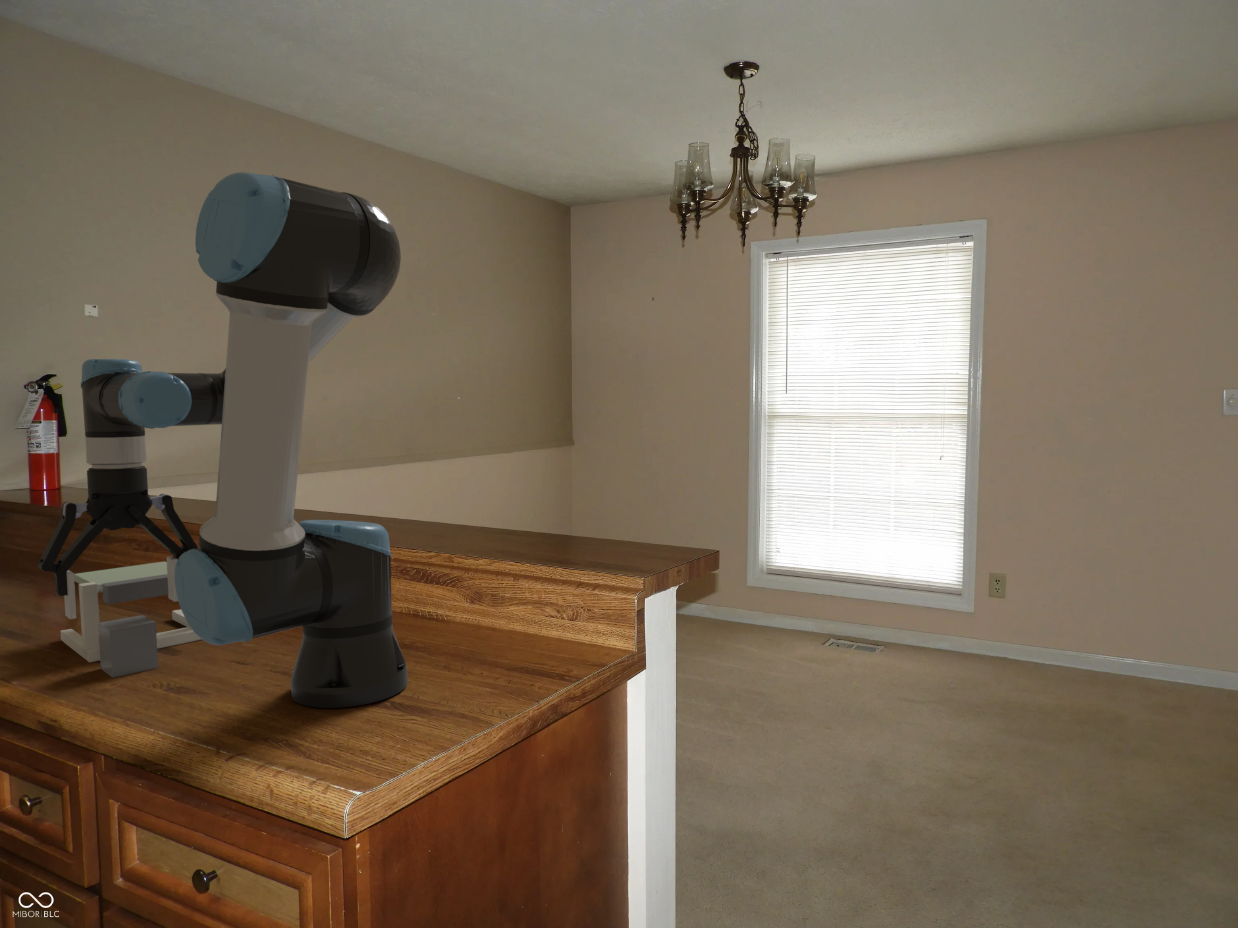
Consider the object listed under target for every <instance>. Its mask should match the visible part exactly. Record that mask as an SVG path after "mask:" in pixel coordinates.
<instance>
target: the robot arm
mask: <svg viewBox="0 0 1238 928" xmlns="http://www.w3.org/2000/svg"><path fill="white" fill-rule="evenodd" d="M194 243H195V252H196V254H197V255H198V258H197V261H198V264H199V266H200V269H201V270H202V272H203V273H204V275H206V276H207V277H209V278H210V279H212V280H213V281H215V282H216V286H215V287H216V289H215V296H216V297H217V299H219V301H220V302H221V304H223V305H224V306H225V308H226V309H227V310H228V312H229V318H228V319H229V321H228V333H227V345H226V346H227V347H226V362H225V368H224V369H223V370H222V372H219V373H216V372H215V373H204V372H199V373H198V372H196V373H195V372H194V373H193V372H192V373H191V372H164V371H150V370H149V371H143V369H142V368H143V367H142V365H141V363H140V362H139V361H138V360H135V359H127V358H126V359H125V358H124V359H123V358H122V359H120V358H119V359H118V358H90V359H87V360H85V361H84V362H83V363H82V365H81V381H80V388H81V391H82V392H81V393H82V394H81V395H82V408H83V409H82V410H83V411H82V412H83V426H84V436H85V438H84V439H85V457H86V458H85V459H86V461H85V462H86V464H88V465H90V466H91V467H89V468H88V470H86V479H87V496H88V497H87V499H86V501H85V503H83V502H80V503H79V502H70V501H64V502H63V503H62V505H61V517H60V518H59V519H60V520H59V521H58V523H57V525H56V527H55V529H54V531H53V533H52V535H51V537H50V539H49V540H48V543H47V545H46V546H45V549H44V551H43V553H42V554H41V556H40V559H39V561H38V562H37V567H38V568H39V569H41V571H43V572H48V573H49V572H50V573H53V574H54V575H53V576H54V589H55V591H54V592H55V594H56V595H57V596H58V597H64V599H63V600H64V613H65V617H67V618H68V619H69V620H74V619H77V605H76V604H77V603H76V588H75V587H76V586H75V581H74V574H75V573H74V572H72V571H71V570H70V568H71V567H72V566H73V565H74V563H76V561H77V560H78V559H79V557H80V556H81V555H82V554H83V553H84V552H85V551H86V549H87V548H88V547H89V546H90V545H91V543H93V542H94V540H95V539H96V537H97V536H98V535H100V534H101V533H102V532H103V531H104V530H109V531H117V530H120V529H134V528H135V527H137V526H140V527H141V528H142V529H143V530H145V531H146V532H147V533H148V535H150V536H151V537H152V538H154V539H155V540H156V541H157V542H158V543H159V544H160V545H161V546H162V547H163V548H165V549H166V550H167V551H168V552H169V553H170V554H171V555H172V556H166V562H167V576H168V595H167V596H168V599H169V600H171V601H172V602H178V605H179V607H180V609H181V610H182V612H183V614H184V616H185V619H186V621H187V622H188V624H189V626H190V627H191V629H192V630H193V631H194V632H195V634H196V635H198V636H199V637H200V638H201V639H202V641H204V642H206V643H207V644H209V645H212V646H213V645H214V646H225V645H231V644H235V643H239V642H242V643H247V642H251V640H254V639H256V638H259V637H264V636H269V635H272V634H276V633H280V632H284V631H288V630H291V629H295V628H296V629H297V628H299V627H302V640H301V642H300V646H299V650H298V654H297V656H296V660H295V663H294V664H295V665H294V668H293V671H292V674H291V678H290V693H291V695H290V696H291V699H292V700H293V701H294V702H296V703H298V704H299V705H303V706H306V707H310V708H312V707H313V708H322V709H335V708H336V709H337V708H350V707H357V706H363V705H368V704H372V703H377V702H380V701H383V700H386V699H388V698H391V697H393V696H395V695H397V694H399V693H400V692H402V691H403V690H405V688H406V687H407V686H408V683H409V682H408V666H407V663H406V660H405V658H404V654H403V653H402V650H401V647H400V645H399V642H398V639H397V637H396V634H395V631H394V627H393V626H394V625H393V606H392V605H393V603H392V599H393V598H392V578H391V577H392V573H391V571H392V570H391V569H392V567H391V565H392V564H391V563H392V560H391V558H392V557H393V556H392V552H391V547H390V539H389V538H390V537H389V536H390V535H389V532H388V530H387V529H386V528H385V527H384V526H383V525H381V524H379V523H375V522H368V521H357V520H356V521H355V520H340V519H339V520H338V519H334V520H333V519H305V520H301V521H299V522H298V521H296V520H295V518H294V516H295V515H294V514H295V506H296V505H295V504H296V498H297V497H296V495H297V494H296V493H297V484H298V474H299V473H298V472H299V464H300V453H301V452H300V451H301V440H302V430H303V420H304V419H303V418H304V409H305V397H306V389H307V388H306V387H307V378H308V367H309V366H308V365H309V364H308V363H310V362H311V361H312V360H314V359H313V358H314V357H316V356H317V355H318V354H319V353H320V352H321V351H322V350H323V349H324V348H325V347H326V346H327V345H328V344H329V343H330V342H331V341H332V340H333V339H334V338H335V337H336V336H337V335H338V334H339V333H340V332H341V331H342V330H343V329H344V328H345V327H346V326H347V325H348V324H349V323H350V322H351V321H352V320H353V319H354V318H358V317H359V318H361V317H365V316H368V315H369V314H371V313H372V312H373V311H374V310H375V309H376V308H377V307H378V306H379V305H380V304H381V303H382V302H383V301H384V300H385V298H386V297H388V295H389V294H390V292H391V290H392V289H393V287H394V285H395V283H396V281H397V278H398V276H399V272H400V270H401V269H400V267H401V259H402V255H401V246H400V241H399V238H398V234H397V232H396V230H395V228H394V226H393V224H392V222H391V221H390V219H389V218H388V217H387V215H386V214H385V212H383V211H382V210H381V209H380V208H379V207H378V206H376V204H374V203H372V202H371V201H369V200H368V199H366V198H364V197H362V196H359V195H357V194H353V193H349V192H343V191H336V190H332V189H328V188H323V187H321V186H320V187H319V186H316V185H312V184H307V183H303V182H300V181H296V180H291V179H287V178H284V177H280V176H277V175H274V174H271V175H269V174H268V175H267V174H261V173H260V174H259V173H254V172H245V171H244V172H243V171H241V172H233V173H231V174H228V175H225V177H223V178H222V179H221V180H219V181H217V183H216V184H215V185H214V186H213V188H212V189H211V190H210V191H209V193H208V194H207V196H206V198H205V200H204V201H203V204H202V205H201V209H200V212H199V215H198V218H197V223H196V227H195V241H194ZM206 425H207V426H208V425H210V426H211V425H215V426H216V425H221V430H220V444H219V446H220V447H219V459H218V472H217V484H216V485H217V486H216V499H215V500H216V501H215V510H214V511H215V514H214V515H213V516H212V517H211V518H210V519H208V520H206V522H204V523H203V524H202V525H201V526H200V528H199V534H198V535H199V538H198V545H197V544H196V542H195V541H194V539H193V537H192V535H191V533H190V532H189V531H188V529H187V528H186V526H185V524H184V522H183V521H182V520H181V518H180V516H179V515H178V513H177V511H176V510H175V507H174V501H173V497H172V495H169V494H166V493H160V494H159V495H158V496H152V497H151V496H150V495H149V488H148V486H149V485H148V484H149V483H148V482H149V481H148V468H147V467H146V466H145V465H143V463H146V462H147V460H148V459H147V446H146V430H145V429H152V430H153V429H165V428H169V427H184V426H185V427H186V426H189V427H190V426H206ZM152 506H154V507H155V508H156V509H157V510H159V511H161V513H162V515H163V517H164V518H165V520H166V522H167V523H168V525H169V526H170V528H171V530H172V531H173V533H174V534H175V535H176V537H177V539H178V541H179V542H180V544H181V546H180V545H178V544H177V543H176V542H175V541H174V540H173V539H171V537H170V536H168V535H167V533H165V532H164V531H163V530H162V529H161V528H160V527H159V526H157V524H155V523H154V522H153V520H152V519H150V518H149V517H148V516H147V513H148V512H149V511H150V509H151V507H152ZM84 512H86V513H87V514H88V515H89V516H90V517H91V518H92V519H91V520H89V522H88V523H87V524H86V525H85V528H84V529H83V530H82V532H81V533H80V534H79V535H78V536H77V538H75V540H74V541H73V542H72V543H71V545H70V546H69V547H68V548H67V549H66V550H65V551H64V553H62V555H61V556H60V557H59V554H60V552H61V550H62V549H63V546H64V544H65V543H66V541H67V539H68V537H69V535H70V533H71V531H72V528H73V527H74V525H75V522H76V519H78V518H80V517H81V516H82V515H83V514H82V513H84ZM58 557H59V559H58V560H57V558H58ZM56 560H57V561H56Z"/></svg>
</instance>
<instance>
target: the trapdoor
mask: <svg viewBox="0 0 1238 928" xmlns="http://www.w3.org/2000/svg"><path fill="white" fill-rule="evenodd" d="M90 582H95V583H96V584H97V590H98V594H99V593H102V601H103V602H104V603H105V604H107V605H113V604H119V603H125V602H131V601H132V602H133V601H138V600H144V599H149V598H156V597H161V596H168V576H167V561H159V562H158V561H157V562H151V563H145V564H137V565H131V566H130V565H128V566H122V567H116V568H115V567H114V568H108V569H99V570H93V571H92V570H91V571H84V572H78V573H74V583H77V584H78V585H79V584H83V583H90ZM103 602H102V603H103Z"/></svg>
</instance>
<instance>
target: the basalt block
mask: <svg viewBox="0 0 1238 928" xmlns="http://www.w3.org/2000/svg"><path fill="white" fill-rule="evenodd" d="M99 622H100V621H99ZM156 624H157V623H156V621H155V620H152V619H151V618H149V617H147V616H145V615H144V614H140V615H134V616H130V617H124V618H118V619H113V620H112V619H111V620H107V621H101V622H100V623H98V632H99V648H100V661H99V662H100V669H101V671H103V672H104V673H106V674H107V675H108V676H110V677H111V678H112V679H114V678H117V677H118V678H119V677H123V676H126V675H127V676H128V675H132V674H135V673H141V672H145V671H149V670H154V669H155V670H156V669H158V668H159V658H158V649H157V638H156V633H157V625H156Z"/></svg>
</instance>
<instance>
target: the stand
mask: <svg viewBox="0 0 1238 928" xmlns="http://www.w3.org/2000/svg"><path fill="white" fill-rule="evenodd" d="M78 596H79V611H80V624H81V625H80V627H81V634H80V633H78V632H77V631H75V630H74V629H72V628H69V629H63V630H60V641H62V642H63V643H64V644H65V645H66V646H68V647H69V648H70V649H72V650H73V651H75V653H77V654H78V655H79V656H80V657H82V658H83V659H85V660H86V661H87V662H88V663H93V662H98V661H99V662H100V648H99V632H98V623H100V610H99V609H100V607H99V606H100V605H99V593H98V590H97V584H96V583H95V582H90V583H83V584H79V583H78ZM171 612H172V613H171V614H172V616H171V617H172V621H175V622H177V623H179V624H180V625H182V626H185V627H181V628H177V629H173V630H168V631H161V632H156V638H157V650H158V649H162V648H168V647H171V646H177V645H183V644H187V643H192V642H196V641H201V640H202V639H201V638H200V637H199V636H198V635H196V634H195V632H194V631H193V630H192V629H191V627H190V626H189V624H188V622H187V621H186V619H185V616H184V614H183V612H182V610H181V608H180V609H174V610H172V611H171ZM202 641H203V640H202Z"/></svg>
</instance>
